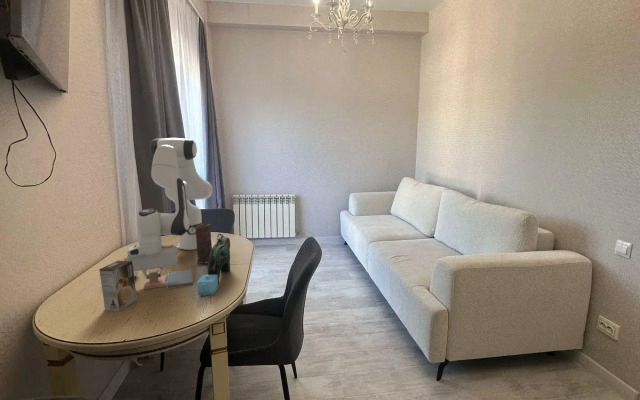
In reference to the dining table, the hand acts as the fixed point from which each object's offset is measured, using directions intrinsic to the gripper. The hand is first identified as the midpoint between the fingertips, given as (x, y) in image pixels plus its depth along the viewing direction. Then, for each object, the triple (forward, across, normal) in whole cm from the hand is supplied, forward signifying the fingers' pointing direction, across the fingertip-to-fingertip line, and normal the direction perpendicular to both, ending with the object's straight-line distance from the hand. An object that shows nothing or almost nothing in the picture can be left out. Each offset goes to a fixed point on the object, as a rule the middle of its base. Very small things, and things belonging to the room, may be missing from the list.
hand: (153, 277), depth 143 cm
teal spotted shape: (+3, -28, +5) cm, 28 cm away
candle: (+3, -22, -18) cm, 29 cm away
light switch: (+2, 0, 0) cm, 3 cm away
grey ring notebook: (+3, -10, 0) cm, 10 cm away
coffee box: (+3, +10, +17) cm, 20 cm away
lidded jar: (+3, +12, -12) cm, 17 cm away
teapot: (+3, -21, +20) cm, 29 cm away
